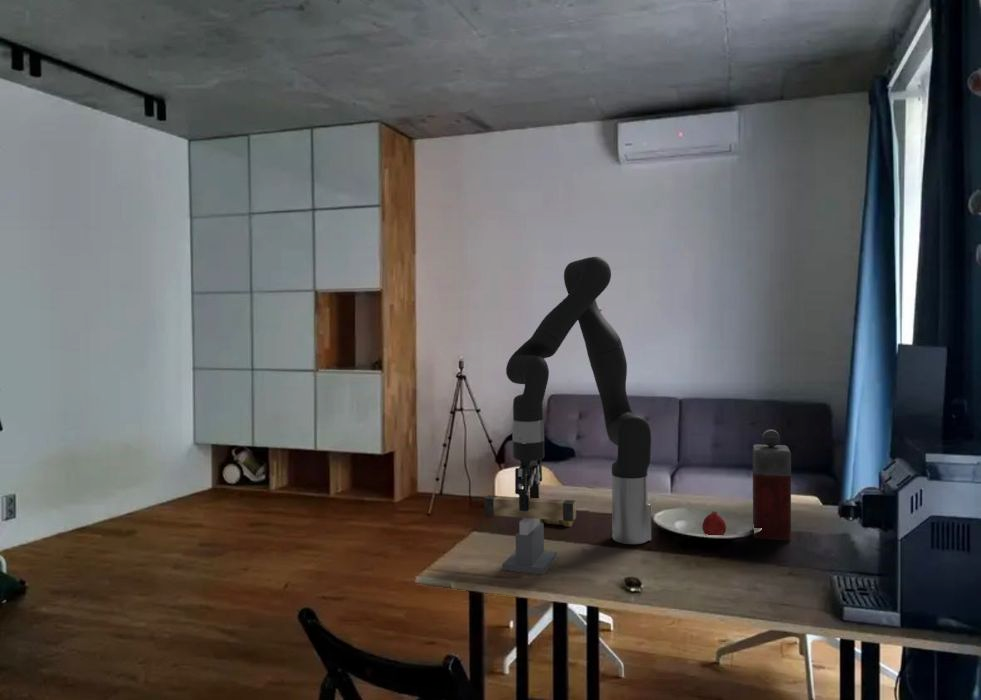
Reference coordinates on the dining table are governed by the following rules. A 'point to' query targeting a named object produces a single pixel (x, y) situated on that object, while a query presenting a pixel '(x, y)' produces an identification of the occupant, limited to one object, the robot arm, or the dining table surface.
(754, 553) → the dining table surface
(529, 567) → the stand
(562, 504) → the oak beam
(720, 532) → the onion
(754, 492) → the red liquor decanter
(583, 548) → the dining table surface
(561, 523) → the gavel
